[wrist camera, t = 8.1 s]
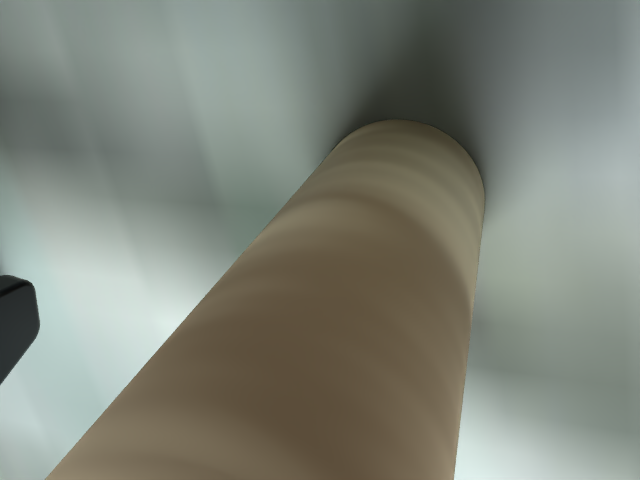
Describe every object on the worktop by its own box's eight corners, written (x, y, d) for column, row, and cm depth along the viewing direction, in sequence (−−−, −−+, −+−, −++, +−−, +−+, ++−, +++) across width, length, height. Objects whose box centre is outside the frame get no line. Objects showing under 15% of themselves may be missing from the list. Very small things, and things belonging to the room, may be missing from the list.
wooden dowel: (310, 252, 15) (53, 644, 7) (329, 103, 13) (-1, 394, 5) (461, 291, 14) (384, 791, 6) (505, 139, 12) (486, 564, 4)
